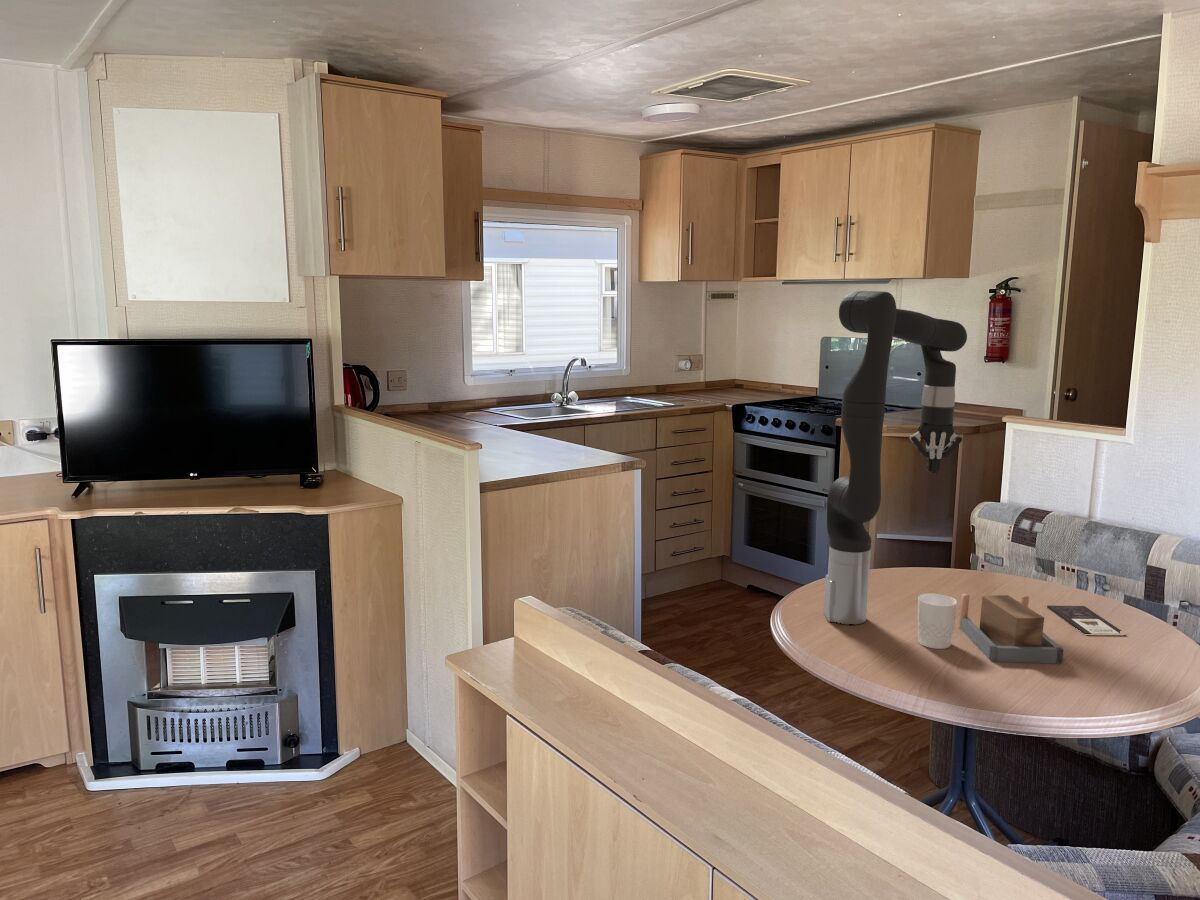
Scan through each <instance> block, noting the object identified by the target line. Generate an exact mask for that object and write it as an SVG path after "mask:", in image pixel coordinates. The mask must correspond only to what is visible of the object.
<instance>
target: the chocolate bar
mask: <svg viewBox="0 0 1200 900" xmlns="http://www.w3.org/2000/svg"><path fill="white" fill-rule="evenodd" d="M1046 608H1047V609H1048V610H1049V611H1052V612H1053V614H1055V615H1056V616H1058V617H1059V618H1061V619H1062V620H1063V619H1064V620H1063V621H1065V622H1066V623H1067V622H1068V625H1070V626H1072V627H1073V628H1074V627H1075V628H1074V629H1076V628H1077V629H1078V630H1080V631H1081V632H1082V633H1084V634H1120V631H1122V630H1121V629H1119V628H1118V627H1117V626H1115V625H1113V624H1112V623H1111V622H1109V621H1108V620H1106V619H1104V618H1103V617H1102V616H1100V615H1099V614H1097V613H1096V612H1094V611H1093V610H1092V609H1090V608H1088V607H1086V606H1085V605H1046ZM1077 629H1076V630H1077ZM1078 630H1077V631H1078ZM1080 631H1079V632H1080ZM1081 632H1080V633H1081ZM1082 633H1081V634H1082ZM1084 634H1083V635H1084Z"/></svg>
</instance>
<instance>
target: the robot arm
mask: <svg viewBox="0 0 1200 900" xmlns="http://www.w3.org/2000/svg"><path fill="white" fill-rule="evenodd" d="M838 318H839V321H840V324H841V325H842V327H843V328H844V329H845V330H847V331H850V332H851V333H857V334H867V340H866V346H865V352H864V356H863V358H862V360H861V362H860V364H859V365H858V367H857V369H856V370H855V371H854V372H853V373H852V376H851V377H850V379H849V381H848V382H847V383H846V385H845V387H844V389H843V391H842V392H843V393H842V403H841V411H840V412H841V413H840V415H841V416H840V422H841V428H842V432H843V437H844V441H845V443H846V447H847V449H848V450H847V451H848V455H849V463H850V464H849V475H848V476H845V475H844V476H840V477H839V478H837V479H836V480H834V481H833V483H832V484H831V485H830V488H829V490H828V493H827V497H826V498H827V500H826V531H827V535H828V538H829V544H828V545H829V548H828V549H829V550H828V567H827V574H825V581H824V594H823V595H824V596H823V597H824V598H823V599H824V600H823V612H822V613H823V615H824V616H825V618H826V620H827V622H831V623H836V622H837V624H840V623H841V624H842V625H849V624H854V625H861V624H863V623H865V622H866V621H867V615H868V597H869V596H868V595H869V581H870V580H869V579H870V565H871V549H872V538H871V535H870V534H869V532H868V531H867V529H866V527H865V524H864V523H869V522H870V521H872V520H873V519H874V518H875V517H876V515H877V514H878V512H879V509H880V507H881V501H882V481H881V478H882V477H881V476H882V475H881V459H882V458H881V457H882V443H883V442H882V441H883V429H884V428H883V427H884V421H885V411H886V410H885V408H886V392H887V381H888V380H887V379H888V371H889V370H888V369H889V362H890V355H891V350H892V345H893V339H894V338H896V339H898V340H902V341H905V342H909V343H912V344H915V345H919V346H920V347H921V352H922V353H921V354H922V357H923V363H924V367H925V372H924V385H923V389H922V396H921V397H922V398H921V407H920V408H921V409H920V410H921V412H920V423H919V426H918V427H917V432H915V433H913V434H910V435H908V440H909V441H910V442H911V443H912V445H913V446H914V448H915V449H916V451H917V452H918V453H919V454H920V455H921V456H923V457H926V468H925V469H926V470H927V472H928V473H929V474H930V475H931V474H932V475H934V474H935V475H936V474H938V472H940V469H941V459H942V458H945V457H946V458H948V457H949V456H950V455H951V454H952V453H953V451H954V450H955V449H956V448H957V447H958V446H959V445H960V444H961V443H962V441H963V438H962V437H960V435H958V434H957V433H955V428H954V426H953V425H954V415H955V414H954V413H955V403H956V401H955V400H956V386H955V385H956V374H957V366H956V363H954V362H952V361H950V360H947V359H944V357H943V355H942V353H941V352H952V353H953V352H958V351H960V350H961V349H962V348H963V347H964V346H965V345H966V343H967V340H968V333H967V330H966V328H965V326H963V324H962V323H960V322H958V321H954V320H948V319H942V318H941V319H940V318H935V317H932V316H930V315H928V314H924V313H922V312H918V311H914V310H907V309H901V308H897V303H896V300H895V297H894V296H893V294H891V292H888V291H881V290H879V291H878V290H877V291H876V290H858V291H857V290H856V291H853V292H849V293H848V294H846V295H845V296H844V297H843V298H842V300H841V301H840V304H839V308H838ZM921 439H922V440H923V442H924V443H925V447H924V446H923V445H922V444H921ZM948 441H949V442H948ZM947 442H948V444H946V443H947ZM945 445H946V446H945ZM841 624H840V625H841Z"/></svg>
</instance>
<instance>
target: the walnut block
mask: <svg viewBox="0 0 1200 900" xmlns="http://www.w3.org/2000/svg"><path fill="white" fill-rule="evenodd" d="M980 608H981V609H980V617H979V618H980V619H979V627H978V628H979V629H980V630H981V631H982V632H983V633H984V634H985V635H986V636H987V637H988V638H989V639H990V640H991V641H992V642H993V643H994V644H995V645H996V646H1025V647H1041V645H1042V635H1043V633H1044V624H1045V617H1044V616H1043V615H1041V614H1039V613H1037V612H1036V611H1034V610H1032V609H1031V608H1029V606H1028V607H1026V606H1025V605H1023V604H1021V601H1018V600H1017V599H1016V598H1013V597H1012V596H1010V595H1009V594H1006V595H1002V594H1001V595H999V594H998V595H982V597H981V607H980Z"/></svg>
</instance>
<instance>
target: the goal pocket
mask: <svg viewBox="0 0 1200 900" xmlns="http://www.w3.org/2000/svg"><path fill="white" fill-rule="evenodd" d="M960 601H961V602H960V604H961V605H960V614H959V626H958V628H959V629H960V630H961V631H962V632H963V633H964V634H965V635H966V636H967V637H968V638H969V639H970V640H971V642H972V643H973V644H974V645H975V646H976V648H978V650H980V651H981V652H982V653H983V654H984V655H985V657H986V658H987V659H988V660H989V661H990V662H995V663H1000V662H1001V663H1030V664H1031V663H1032V664H1035V663H1036V664H1063V660H1064V659H1063V658H1064V649H1063V648H1062V647H1061V646H1060V645H1059V644H1057V643H1056V642H1055V641H1054V640H1053V639H1052V638H1050V637H1049V636H1048V635H1047V634H1046V633H1045V632H1043V635H1042V645H1041V647H1025V646H996V645H995V644H994V643H993V642H992V641H991V640H990V639H989V638H988V637H987V636H986V635H985V634H984V633H983V632H982V631H981V630H980V629H979V628H980V627H978V626H977V625H976V624H975V622H973V620H971V619H970V618H969V609H970V607H969V605H970V594H969V593H961V600H960ZM1029 601H1030V595H1027V594H1022V595H1021V599H1020V603H1021V604H1023V605H1025V606H1026V607H1028V608H1029Z"/></svg>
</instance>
